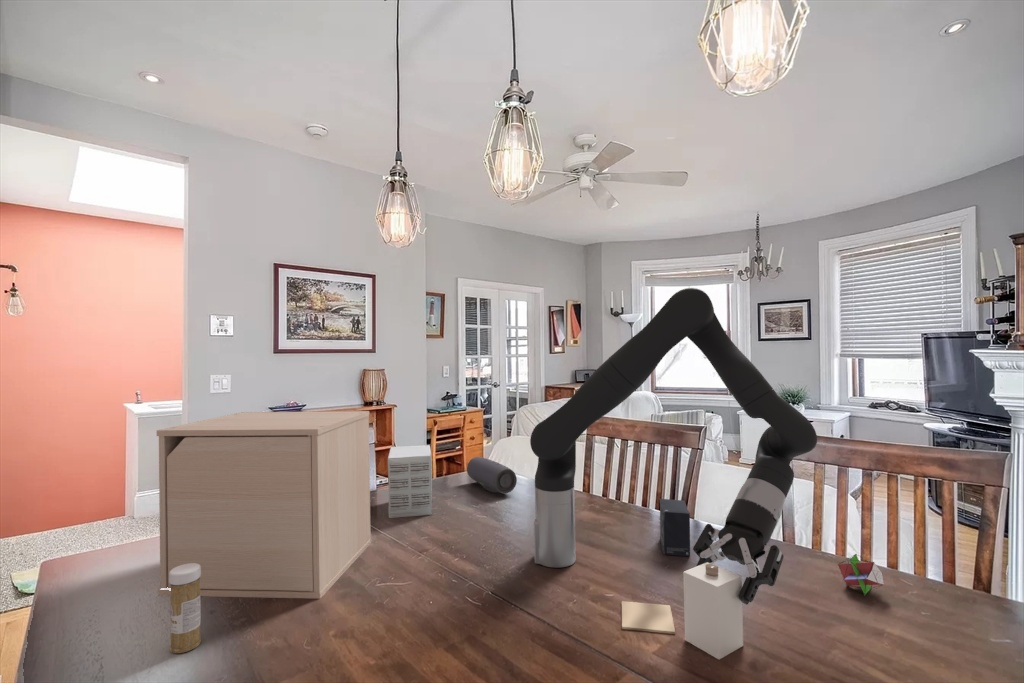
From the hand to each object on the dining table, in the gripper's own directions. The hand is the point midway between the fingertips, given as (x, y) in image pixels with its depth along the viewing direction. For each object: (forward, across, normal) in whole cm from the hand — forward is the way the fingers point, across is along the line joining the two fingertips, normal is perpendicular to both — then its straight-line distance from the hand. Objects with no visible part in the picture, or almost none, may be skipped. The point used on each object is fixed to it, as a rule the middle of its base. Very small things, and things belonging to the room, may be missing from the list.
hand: (719, 591), depth 85 cm
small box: (-12, -30, +24) cm, 40 cm away
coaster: (+9, -12, +2) cm, 15 cm away
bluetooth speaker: (-4, -101, +16) cm, 102 cm away
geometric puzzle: (-21, +6, +33) cm, 39 cm away
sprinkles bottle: (+60, -50, -48) cm, 92 cm away
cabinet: (+47, -76, -35) cm, 96 cm away
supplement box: (+17, -98, -6) cm, 100 cm away
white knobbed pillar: (+7, 0, +4) cm, 8 cm away
